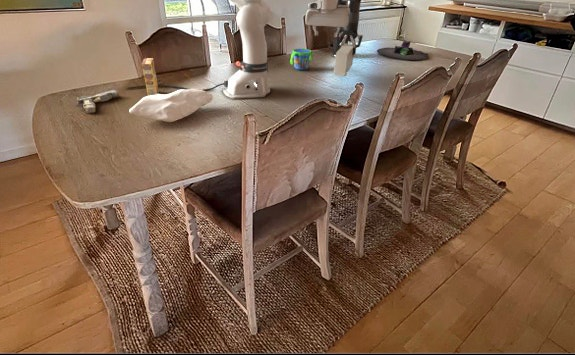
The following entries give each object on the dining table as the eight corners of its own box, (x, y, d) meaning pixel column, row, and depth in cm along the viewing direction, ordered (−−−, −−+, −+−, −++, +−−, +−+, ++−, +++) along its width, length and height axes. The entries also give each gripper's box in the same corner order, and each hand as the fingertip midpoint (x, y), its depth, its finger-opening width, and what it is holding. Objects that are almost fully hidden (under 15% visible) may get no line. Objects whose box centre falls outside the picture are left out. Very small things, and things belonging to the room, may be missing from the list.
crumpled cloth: (117, 110, 146) (113, 90, 140) (195, 92, 166) (194, 73, 160) (143, 139, 134) (140, 118, 128) (223, 116, 154) (224, 96, 148)
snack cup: (306, 64, 218) (307, 47, 212) (317, 69, 211) (318, 51, 205) (284, 68, 210) (285, 49, 205) (295, 72, 203) (295, 54, 198)
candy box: (157, 97, 164) (152, 63, 155) (147, 98, 163) (141, 63, 155) (158, 91, 171) (153, 57, 163) (149, 91, 170) (143, 58, 162)
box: (344, 76, 183) (347, 54, 177) (333, 74, 184) (336, 53, 178) (352, 64, 201) (354, 44, 195) (342, 63, 202) (344, 43, 196)
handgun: (128, 97, 156) (111, 87, 164) (86, 107, 144) (70, 97, 152) (129, 103, 157) (113, 94, 165) (88, 114, 146) (72, 103, 154)
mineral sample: (439, 56, 245) (442, 42, 241) (405, 62, 228) (407, 47, 223) (399, 48, 270) (401, 35, 266) (365, 53, 253) (367, 39, 248)
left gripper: (351, 4, 166) (348, 36, 174) (308, 2, 172) (307, 33, 179) (349, 6, 161) (346, 38, 169) (304, 4, 167) (304, 36, 174)
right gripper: (366, 20, 187) (361, 54, 196) (338, 18, 190) (335, 51, 200) (364, 23, 181) (359, 57, 190) (335, 20, 184) (332, 54, 194)
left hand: (326, 36), depth 174 cm, fingers open, 8 cm apart
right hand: (347, 54), depth 195 cm, fingers closed on box, 5 cm apart
